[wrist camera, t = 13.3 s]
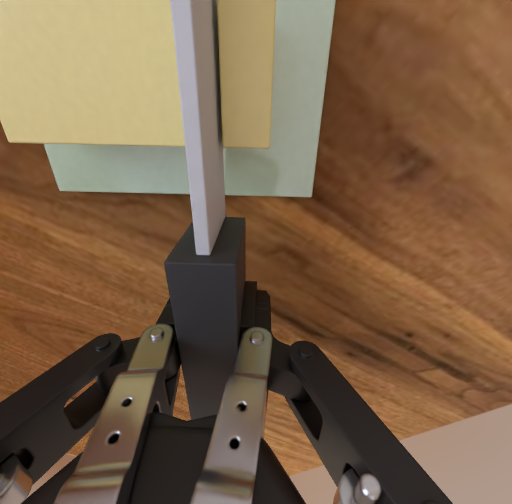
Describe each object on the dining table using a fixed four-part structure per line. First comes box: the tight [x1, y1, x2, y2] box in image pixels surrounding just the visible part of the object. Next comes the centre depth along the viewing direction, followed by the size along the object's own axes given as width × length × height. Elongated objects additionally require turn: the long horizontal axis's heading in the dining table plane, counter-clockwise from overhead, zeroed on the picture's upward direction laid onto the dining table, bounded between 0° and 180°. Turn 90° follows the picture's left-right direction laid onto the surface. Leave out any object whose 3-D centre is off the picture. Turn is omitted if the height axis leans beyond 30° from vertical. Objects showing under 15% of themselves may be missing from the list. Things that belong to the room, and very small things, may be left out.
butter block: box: [0, 0, 185, 147], centre depth 10 cm, size 4×7×4 cm, turn 89°
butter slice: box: [217, 0, 276, 149], centre depth 10 cm, size 4×2×4 cm, turn 179°
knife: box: [164, 0, 245, 420], centre depth 10 cm, size 2×20×4 cm, turn 179°
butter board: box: [44, 0, 336, 197], centre depth 12 cm, size 10×14×1 cm
